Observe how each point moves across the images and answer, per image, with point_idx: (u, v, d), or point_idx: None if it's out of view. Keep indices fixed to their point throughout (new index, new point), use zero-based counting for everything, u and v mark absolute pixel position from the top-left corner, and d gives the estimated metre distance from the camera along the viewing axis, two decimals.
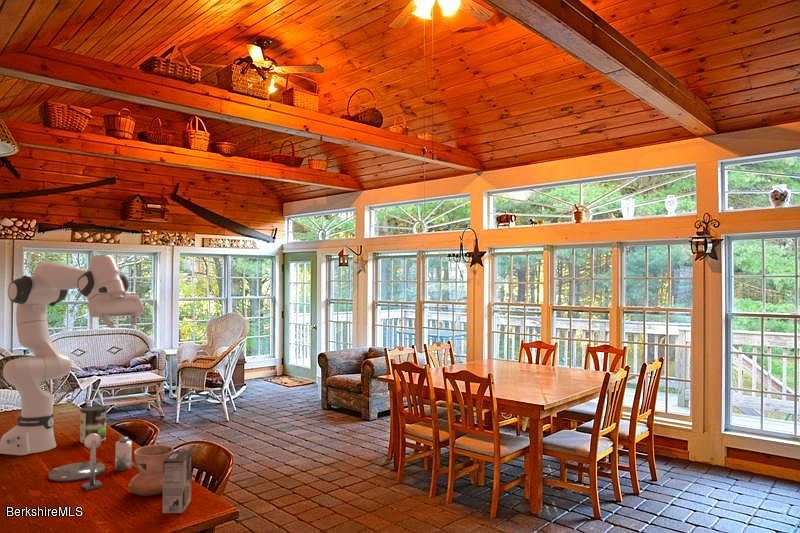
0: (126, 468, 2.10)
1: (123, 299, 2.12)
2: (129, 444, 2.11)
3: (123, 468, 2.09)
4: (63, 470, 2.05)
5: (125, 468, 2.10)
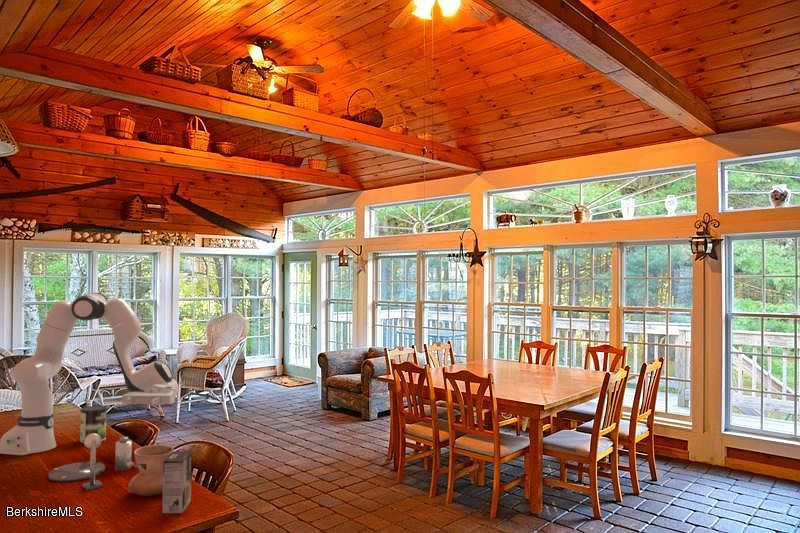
0: (126, 468, 2.10)
1: None
2: (129, 444, 2.11)
3: (123, 468, 2.09)
4: (63, 470, 2.05)
5: (125, 468, 2.10)
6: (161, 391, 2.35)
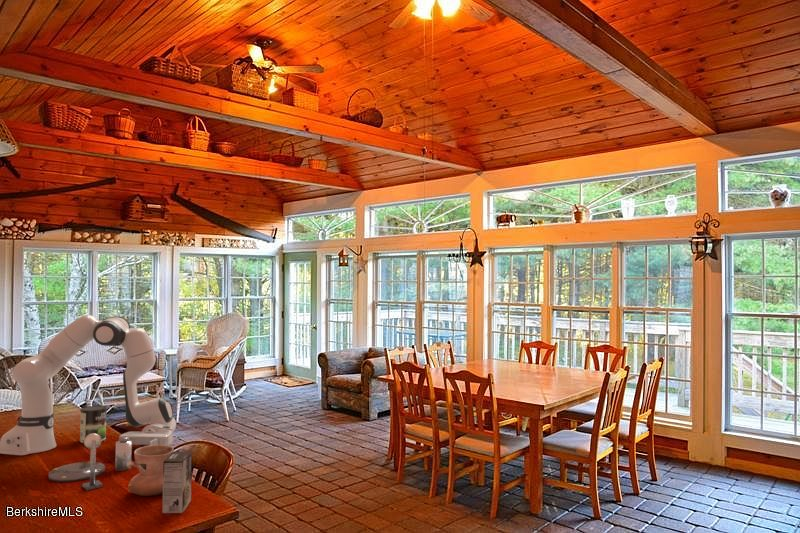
0: (126, 468, 2.10)
1: None
2: (129, 444, 2.11)
3: (123, 468, 2.09)
4: (63, 470, 2.05)
5: (125, 468, 2.10)
6: (159, 431, 2.33)
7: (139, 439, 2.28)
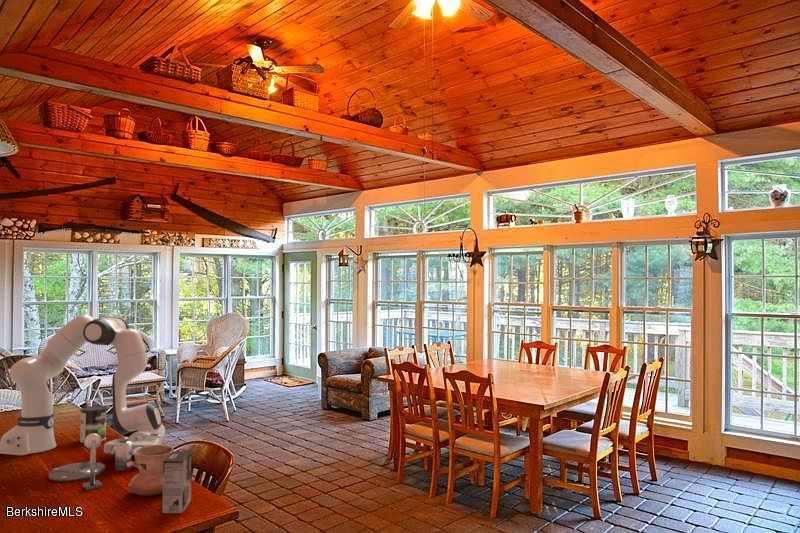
0: (126, 468, 2.10)
1: None
2: (129, 444, 2.11)
3: (123, 468, 2.09)
4: (63, 470, 2.05)
5: (125, 468, 2.10)
6: (146, 439, 2.22)
7: None
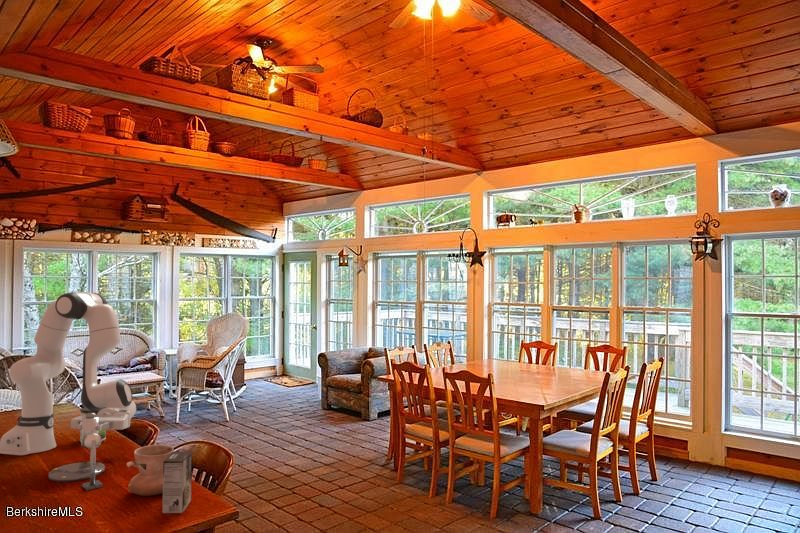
0: None
1: None
2: (96, 420, 2.07)
3: None
4: (63, 470, 2.05)
5: None
6: (115, 415, 2.18)
7: None
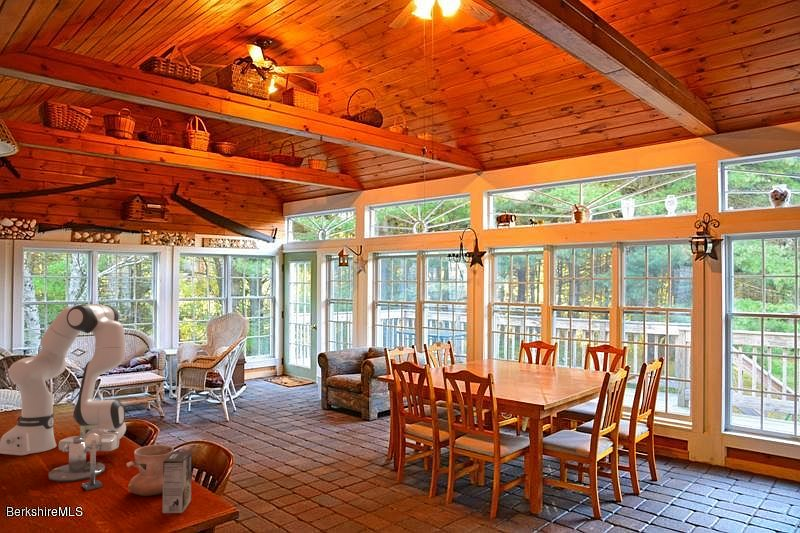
0: (80, 470, 2.04)
1: None
2: (83, 445, 2.05)
3: (77, 470, 2.04)
4: (63, 470, 2.05)
5: (79, 470, 2.04)
6: (103, 436, 2.16)
7: None
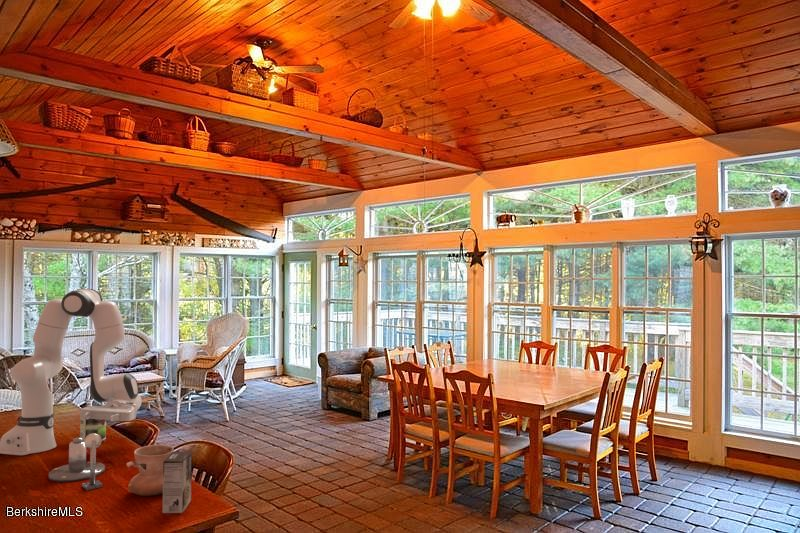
0: (80, 470, 2.04)
1: None
2: (83, 445, 2.05)
3: (77, 470, 2.04)
4: (63, 470, 2.05)
5: (79, 470, 2.04)
6: (122, 407, 2.29)
7: (100, 413, 2.24)
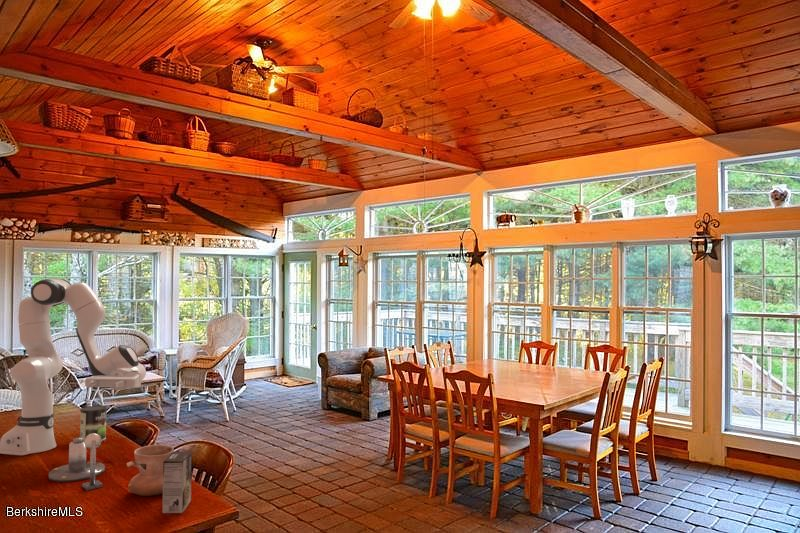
0: (80, 470, 2.04)
1: None
2: (83, 445, 2.05)
3: (77, 470, 2.04)
4: (63, 470, 2.05)
5: (79, 470, 2.04)
6: (126, 375, 2.29)
7: (105, 382, 2.24)
